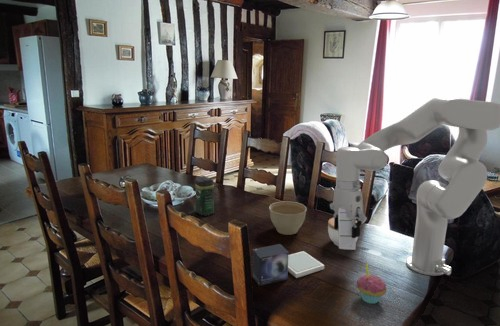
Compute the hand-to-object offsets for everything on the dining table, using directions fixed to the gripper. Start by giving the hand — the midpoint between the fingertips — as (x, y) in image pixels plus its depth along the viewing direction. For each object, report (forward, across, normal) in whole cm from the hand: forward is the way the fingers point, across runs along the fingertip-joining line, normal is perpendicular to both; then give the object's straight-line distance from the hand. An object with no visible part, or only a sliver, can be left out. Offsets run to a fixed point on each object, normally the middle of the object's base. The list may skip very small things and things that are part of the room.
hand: (346, 232), depth 121 cm
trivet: (+13, +9, +14) cm, 21 cm away
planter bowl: (+13, +36, +1) cm, 38 cm away
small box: (+12, +7, +28) cm, 31 cm away
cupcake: (+14, -17, +7) cm, 23 cm away
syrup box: (+5, 0, 0) cm, 5 cm away
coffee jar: (+11, +73, +24) cm, 78 cm away
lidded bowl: (+14, +15, -12) cm, 24 cm away
